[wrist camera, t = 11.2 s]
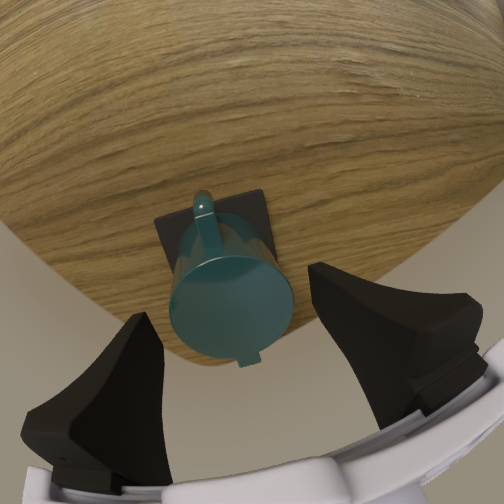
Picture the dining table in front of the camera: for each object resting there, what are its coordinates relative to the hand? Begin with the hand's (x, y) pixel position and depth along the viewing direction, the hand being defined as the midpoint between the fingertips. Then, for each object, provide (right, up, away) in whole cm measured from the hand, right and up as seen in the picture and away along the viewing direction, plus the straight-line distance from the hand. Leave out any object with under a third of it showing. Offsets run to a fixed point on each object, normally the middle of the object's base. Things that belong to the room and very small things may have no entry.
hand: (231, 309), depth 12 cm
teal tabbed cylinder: (-1, +2, +5) cm, 6 cm away
